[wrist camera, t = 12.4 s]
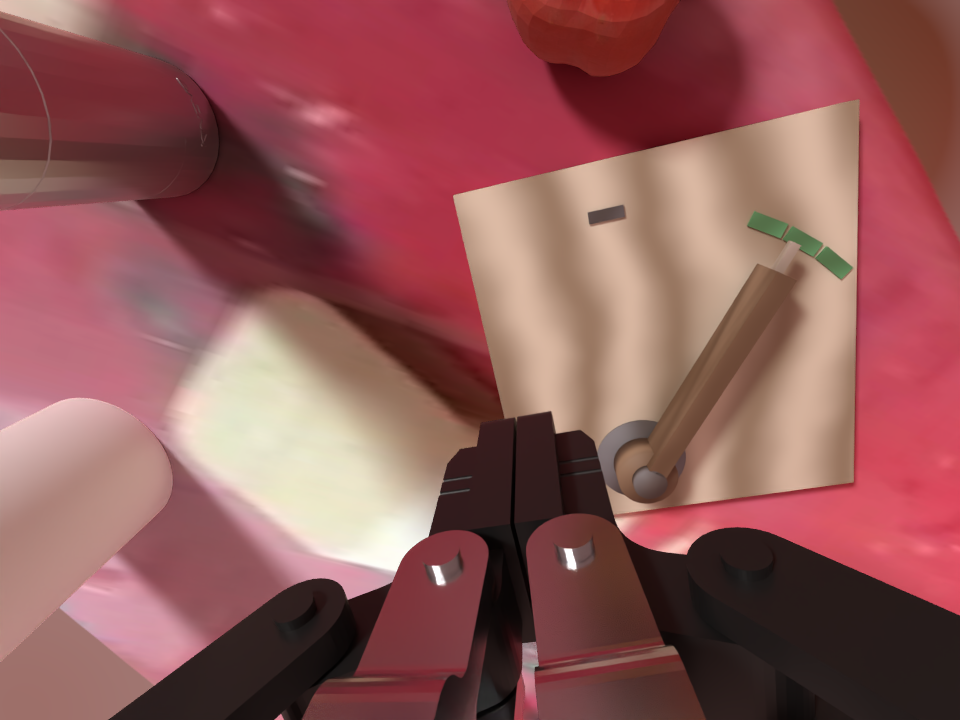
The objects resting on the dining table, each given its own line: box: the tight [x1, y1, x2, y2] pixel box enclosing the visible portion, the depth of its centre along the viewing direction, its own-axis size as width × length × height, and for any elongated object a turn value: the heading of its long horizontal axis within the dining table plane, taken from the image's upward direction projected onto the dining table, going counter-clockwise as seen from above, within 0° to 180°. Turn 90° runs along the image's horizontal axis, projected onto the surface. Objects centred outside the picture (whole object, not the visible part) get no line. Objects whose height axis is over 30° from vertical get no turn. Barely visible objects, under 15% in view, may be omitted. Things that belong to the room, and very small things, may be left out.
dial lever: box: [614, 240, 801, 504], centre depth 37 cm, size 4×21×3 cm, turn 157°
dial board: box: [453, 99, 859, 515], centre depth 39 cm, size 26×28×2 cm
